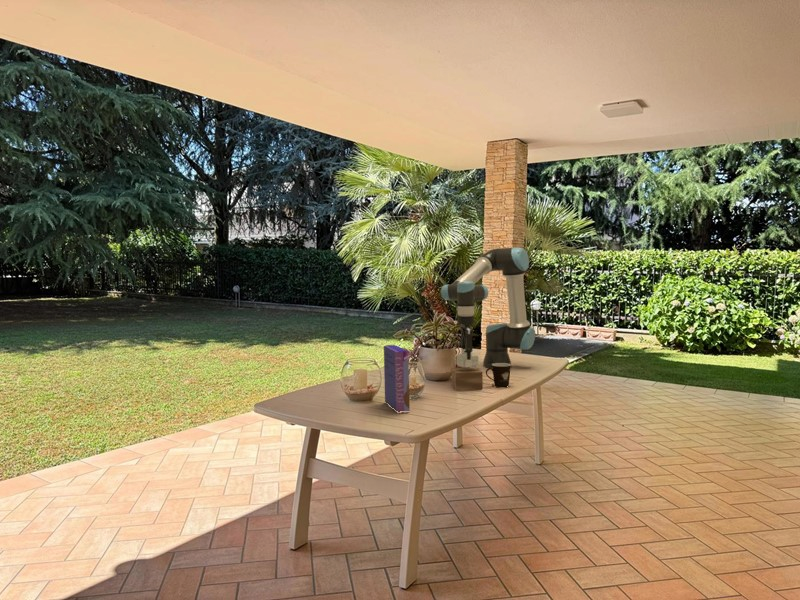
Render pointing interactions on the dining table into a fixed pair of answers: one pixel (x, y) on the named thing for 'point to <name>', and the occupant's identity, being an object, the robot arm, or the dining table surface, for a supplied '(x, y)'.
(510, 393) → the dining table surface
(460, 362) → the small box
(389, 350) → the cereal box
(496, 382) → the coffee mug
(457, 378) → the walnut block
